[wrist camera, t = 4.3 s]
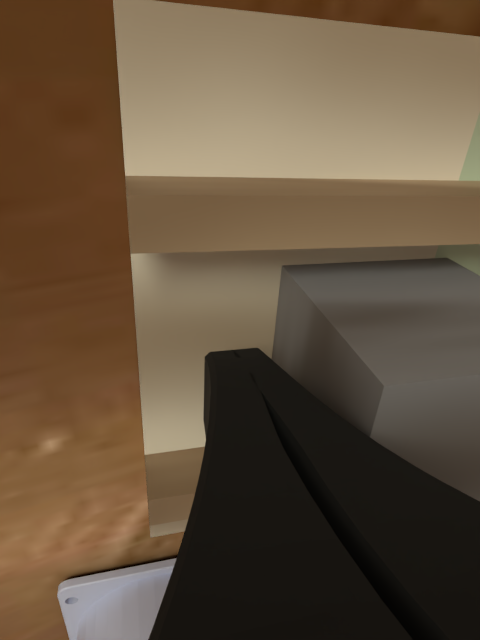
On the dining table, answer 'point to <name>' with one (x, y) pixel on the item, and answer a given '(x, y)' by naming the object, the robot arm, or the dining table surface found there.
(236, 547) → the robot arm
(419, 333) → the charcoal block
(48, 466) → the dining table surface
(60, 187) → the dining table surface
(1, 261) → the dining table surface
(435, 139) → the railed deck
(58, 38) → the dining table surface
